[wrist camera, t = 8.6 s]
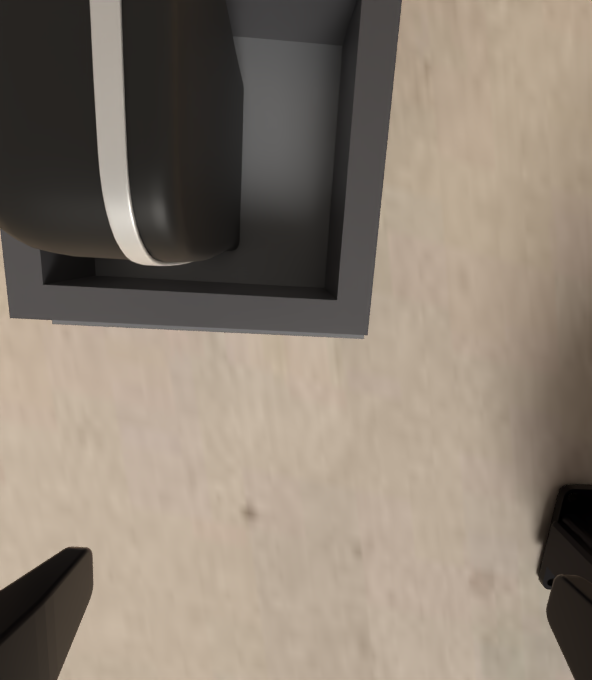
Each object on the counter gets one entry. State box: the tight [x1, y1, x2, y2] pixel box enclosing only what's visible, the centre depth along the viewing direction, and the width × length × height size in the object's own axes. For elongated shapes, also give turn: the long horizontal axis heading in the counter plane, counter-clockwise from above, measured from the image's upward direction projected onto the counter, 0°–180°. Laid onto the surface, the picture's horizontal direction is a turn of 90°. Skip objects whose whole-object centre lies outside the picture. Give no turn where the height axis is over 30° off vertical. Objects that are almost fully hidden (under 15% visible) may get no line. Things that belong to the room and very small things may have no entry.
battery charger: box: [0, 0, 244, 266], centre depth 11 cm, size 7×4×11 cm, turn 176°
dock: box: [0, 0, 402, 339], centre depth 15 cm, size 14×14×5 cm
